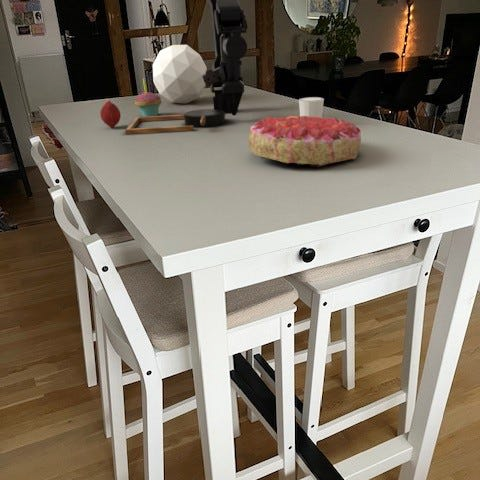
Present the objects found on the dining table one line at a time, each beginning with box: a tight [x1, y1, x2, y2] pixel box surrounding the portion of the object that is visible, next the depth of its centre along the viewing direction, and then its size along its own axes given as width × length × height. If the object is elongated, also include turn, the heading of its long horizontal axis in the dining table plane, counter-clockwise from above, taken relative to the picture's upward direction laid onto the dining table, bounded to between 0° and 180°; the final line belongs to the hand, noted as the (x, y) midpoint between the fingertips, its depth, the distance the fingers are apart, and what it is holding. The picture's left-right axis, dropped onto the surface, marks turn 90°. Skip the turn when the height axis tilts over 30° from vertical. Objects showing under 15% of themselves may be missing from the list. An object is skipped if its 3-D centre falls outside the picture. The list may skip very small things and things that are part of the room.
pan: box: [183, 108, 226, 128], centre depth 151 cm, size 12×20×3 cm, turn 1°
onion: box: [99, 98, 121, 129], centre depth 154 cm, size 6×6×8 cm
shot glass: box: [298, 96, 325, 118], centre depth 142 cm, size 7×7×7 cm
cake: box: [247, 115, 362, 168], centre depth 115 cm, size 25×25×8 cm
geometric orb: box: [152, 44, 208, 105], centre depth 186 cm, size 19×20×20 cm
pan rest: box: [125, 114, 195, 135], centre depth 155 cm, size 19×19×1 cm
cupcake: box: [134, 76, 162, 117], centre depth 167 cm, size 9×8×12 cm
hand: (234, 115), depth 154 cm, fingers closed
